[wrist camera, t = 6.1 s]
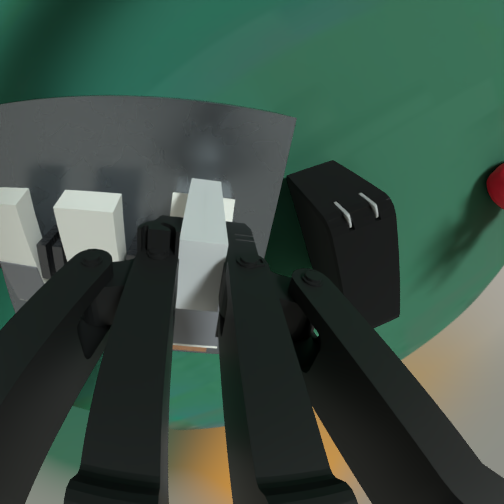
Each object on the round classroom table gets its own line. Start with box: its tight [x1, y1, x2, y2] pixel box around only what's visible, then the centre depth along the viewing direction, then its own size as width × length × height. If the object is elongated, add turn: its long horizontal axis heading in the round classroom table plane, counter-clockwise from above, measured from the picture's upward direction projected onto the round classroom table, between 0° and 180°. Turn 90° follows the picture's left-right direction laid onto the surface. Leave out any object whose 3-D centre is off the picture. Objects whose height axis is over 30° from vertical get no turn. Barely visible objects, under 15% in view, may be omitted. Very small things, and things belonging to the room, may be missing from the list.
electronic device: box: [287, 160, 400, 328], centre depth 21 cm, size 4×10×10 cm, turn 19°
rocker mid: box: [53, 190, 127, 262], centre depth 16 cm, size 9×3×2 cm, turn 170°
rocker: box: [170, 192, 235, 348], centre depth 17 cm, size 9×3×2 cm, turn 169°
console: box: [0, 95, 297, 354], centre depth 19 cm, size 19×21×9 cm
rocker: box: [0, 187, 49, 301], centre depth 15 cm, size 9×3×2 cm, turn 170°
